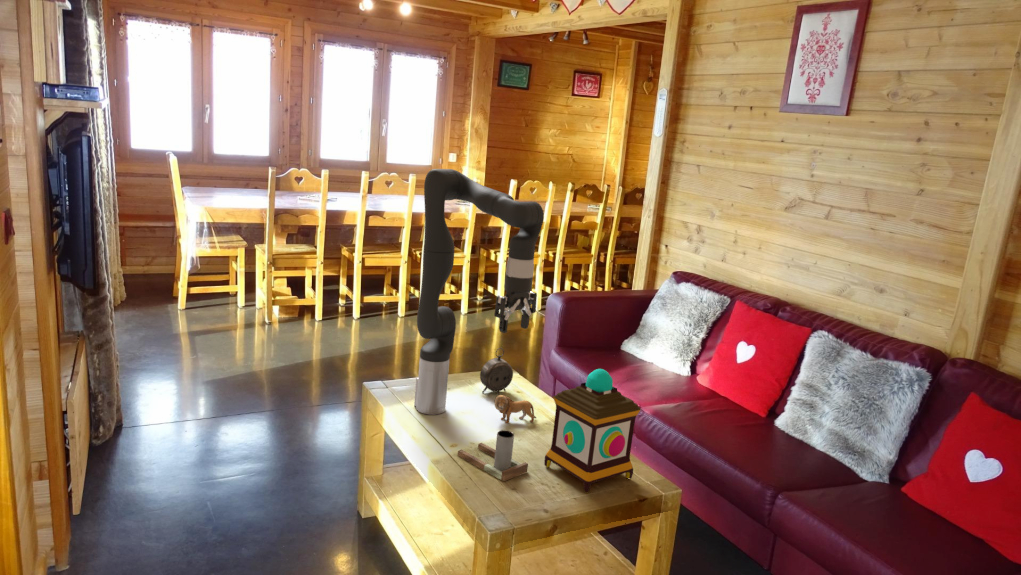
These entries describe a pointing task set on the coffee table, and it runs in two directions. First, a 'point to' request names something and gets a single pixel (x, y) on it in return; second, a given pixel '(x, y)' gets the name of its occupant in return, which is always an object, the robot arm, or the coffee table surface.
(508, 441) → the grey hollow cylinder
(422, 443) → the coffee table surface
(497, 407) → the lion figurine
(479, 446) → the guide channel
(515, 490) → the coffee table surface
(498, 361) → the alarm clock
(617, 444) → the decorative lantern
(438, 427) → the coffee table surface
